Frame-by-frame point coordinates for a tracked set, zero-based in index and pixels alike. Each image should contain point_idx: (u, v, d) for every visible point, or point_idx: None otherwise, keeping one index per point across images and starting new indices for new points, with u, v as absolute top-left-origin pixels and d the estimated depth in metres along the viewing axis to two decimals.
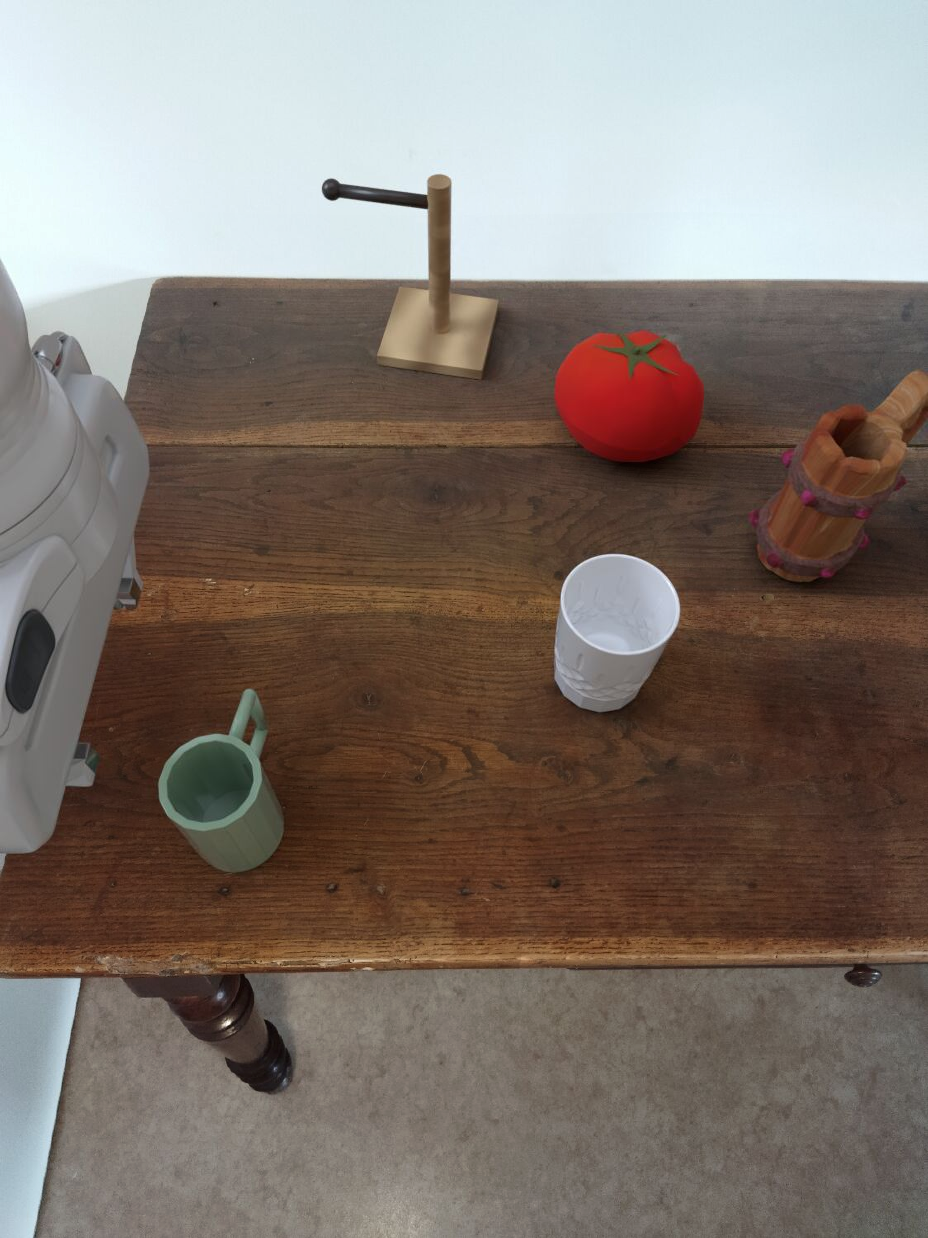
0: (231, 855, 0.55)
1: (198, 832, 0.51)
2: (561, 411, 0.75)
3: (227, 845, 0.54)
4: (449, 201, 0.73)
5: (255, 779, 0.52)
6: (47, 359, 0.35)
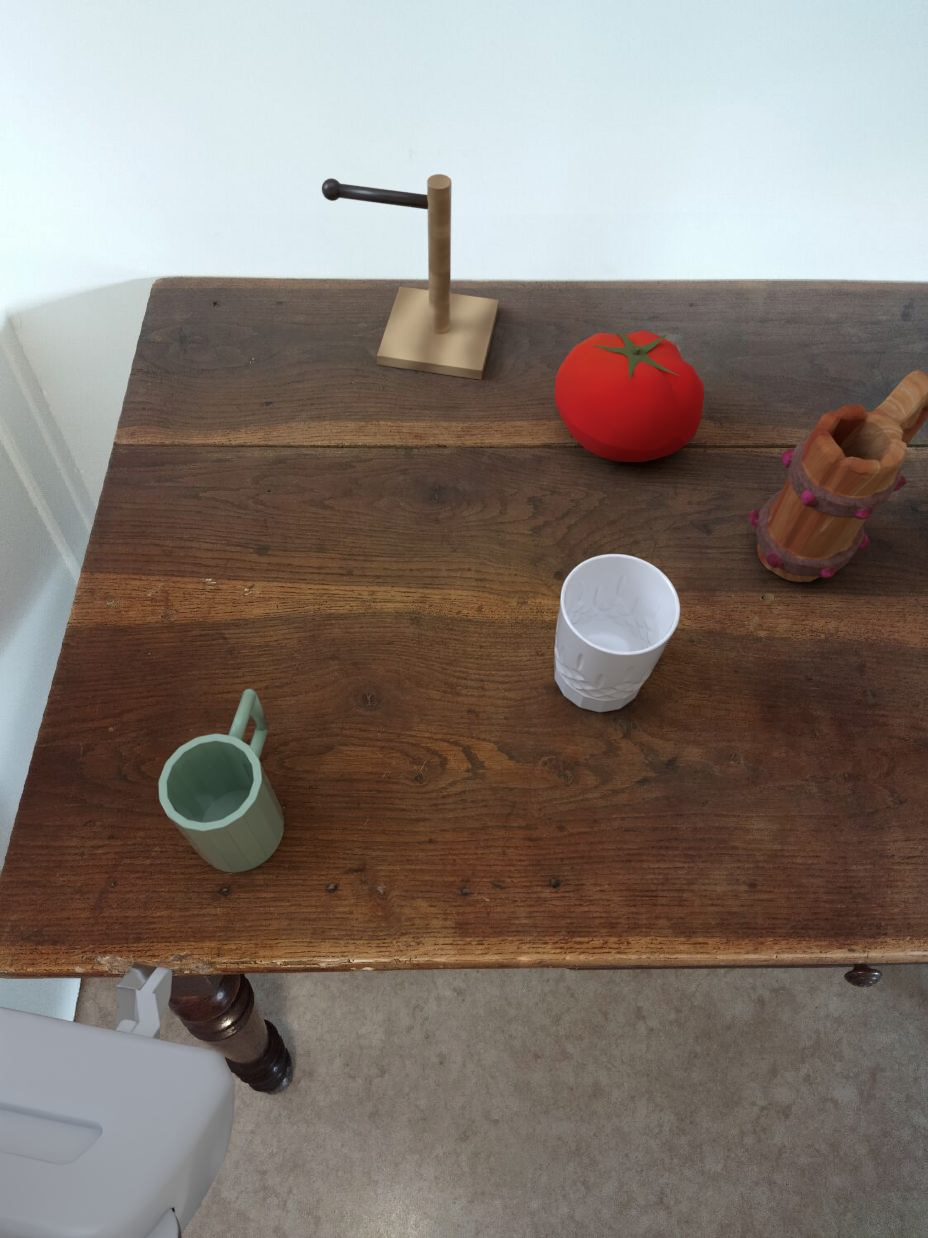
0: (231, 855, 0.55)
1: (198, 832, 0.51)
2: (561, 411, 0.75)
3: (227, 845, 0.54)
4: (449, 201, 0.73)
5: (255, 779, 0.52)
6: None
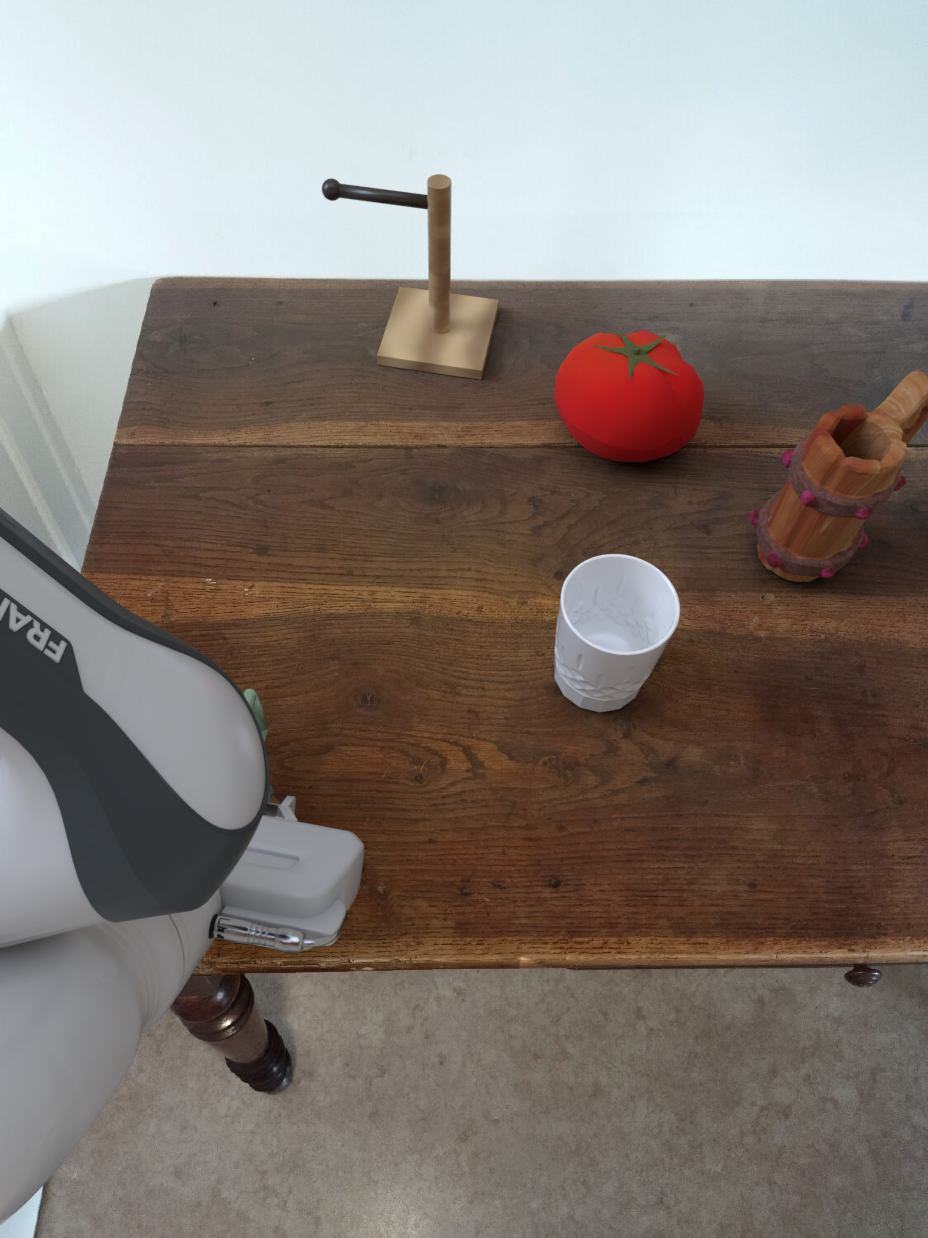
0: None
1: None
2: (561, 411, 0.75)
3: None
4: (449, 201, 0.73)
5: None
6: (274, 947, 0.43)
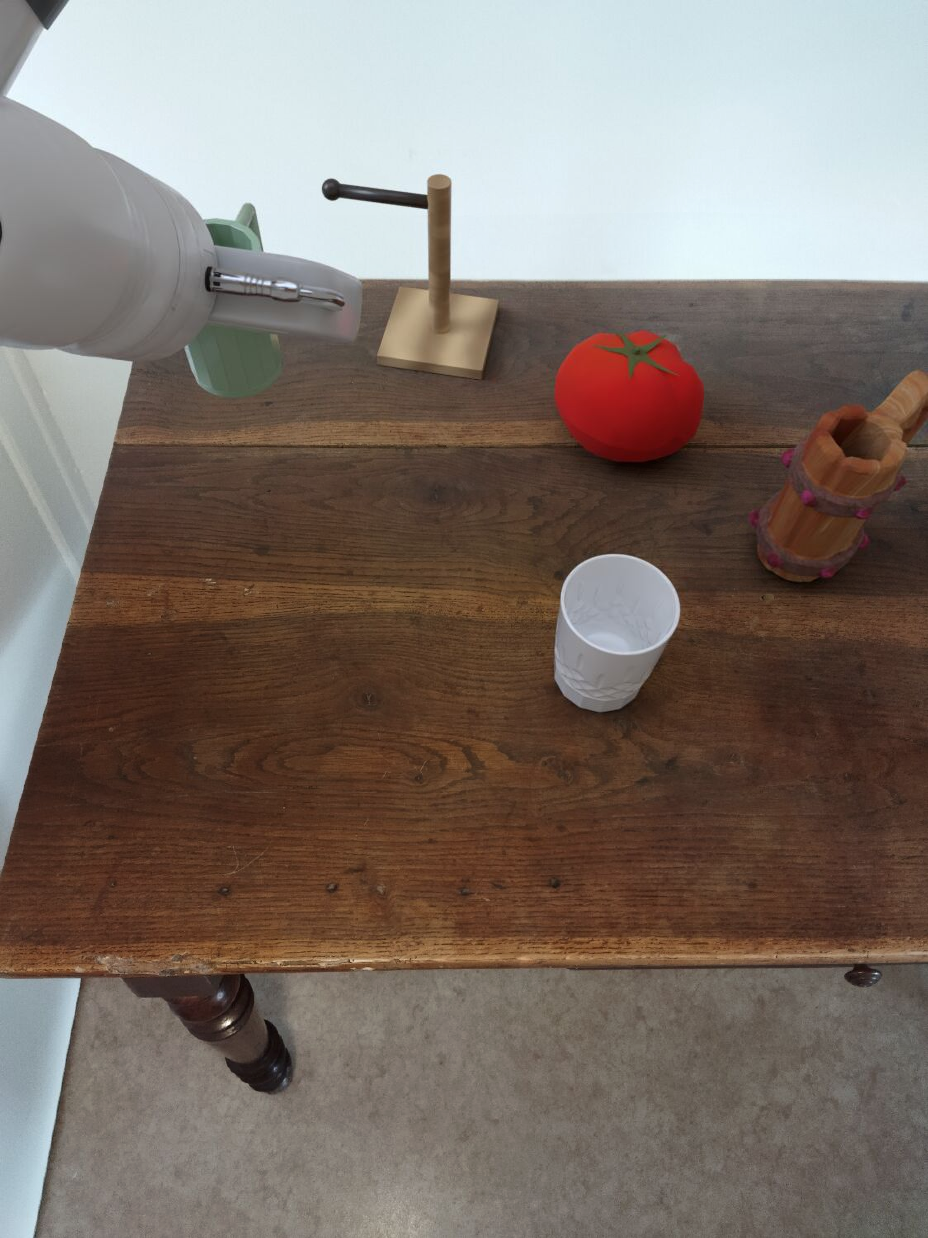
0: (229, 353, 0.55)
1: None
2: (561, 411, 0.75)
3: (225, 327, 0.53)
4: (449, 201, 0.73)
5: (254, 249, 0.52)
6: (270, 294, 0.42)
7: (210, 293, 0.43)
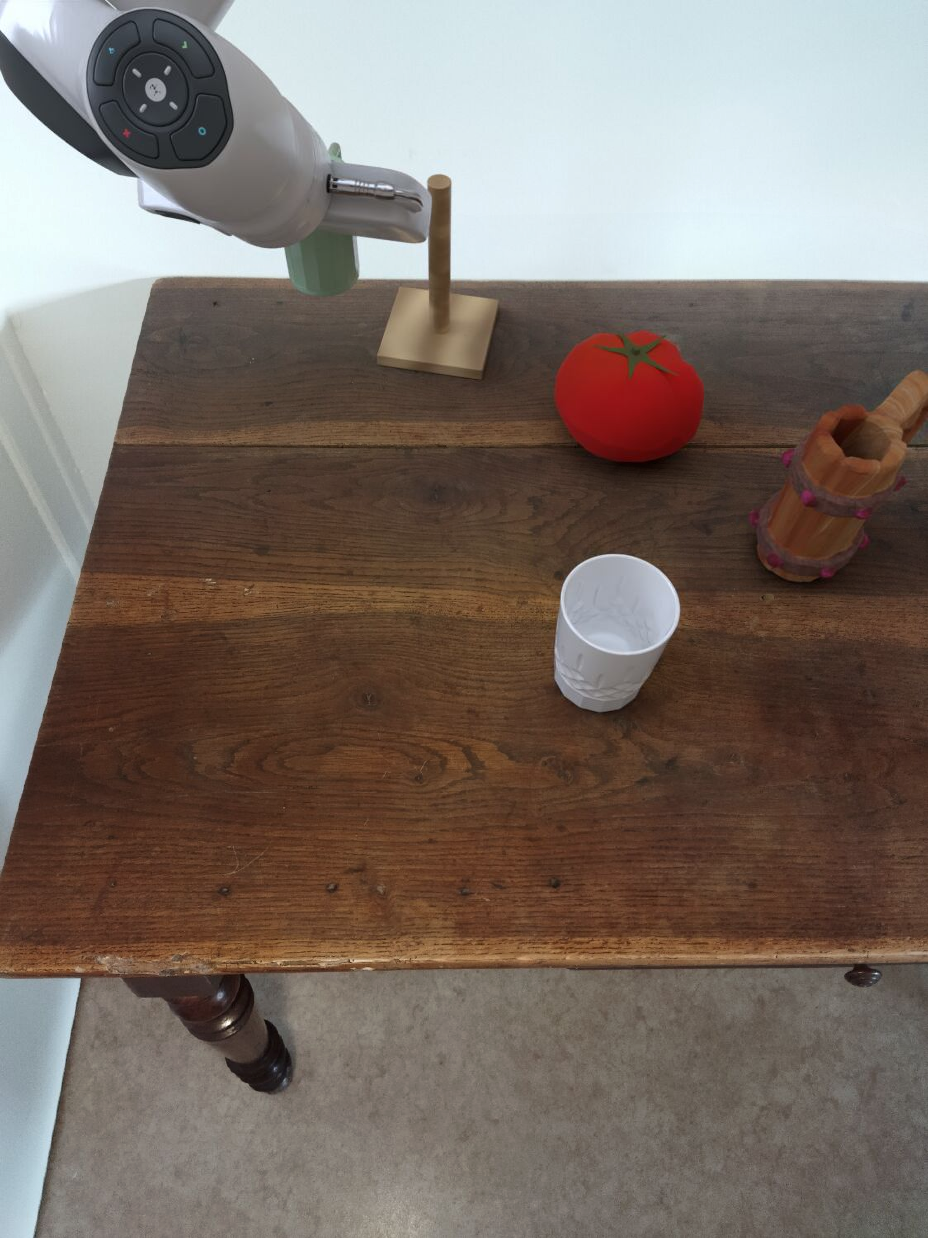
0: (323, 257, 0.71)
1: None
2: (561, 411, 0.75)
3: (322, 235, 0.69)
4: (449, 201, 0.73)
5: None
6: (374, 193, 0.58)
7: (328, 194, 0.59)
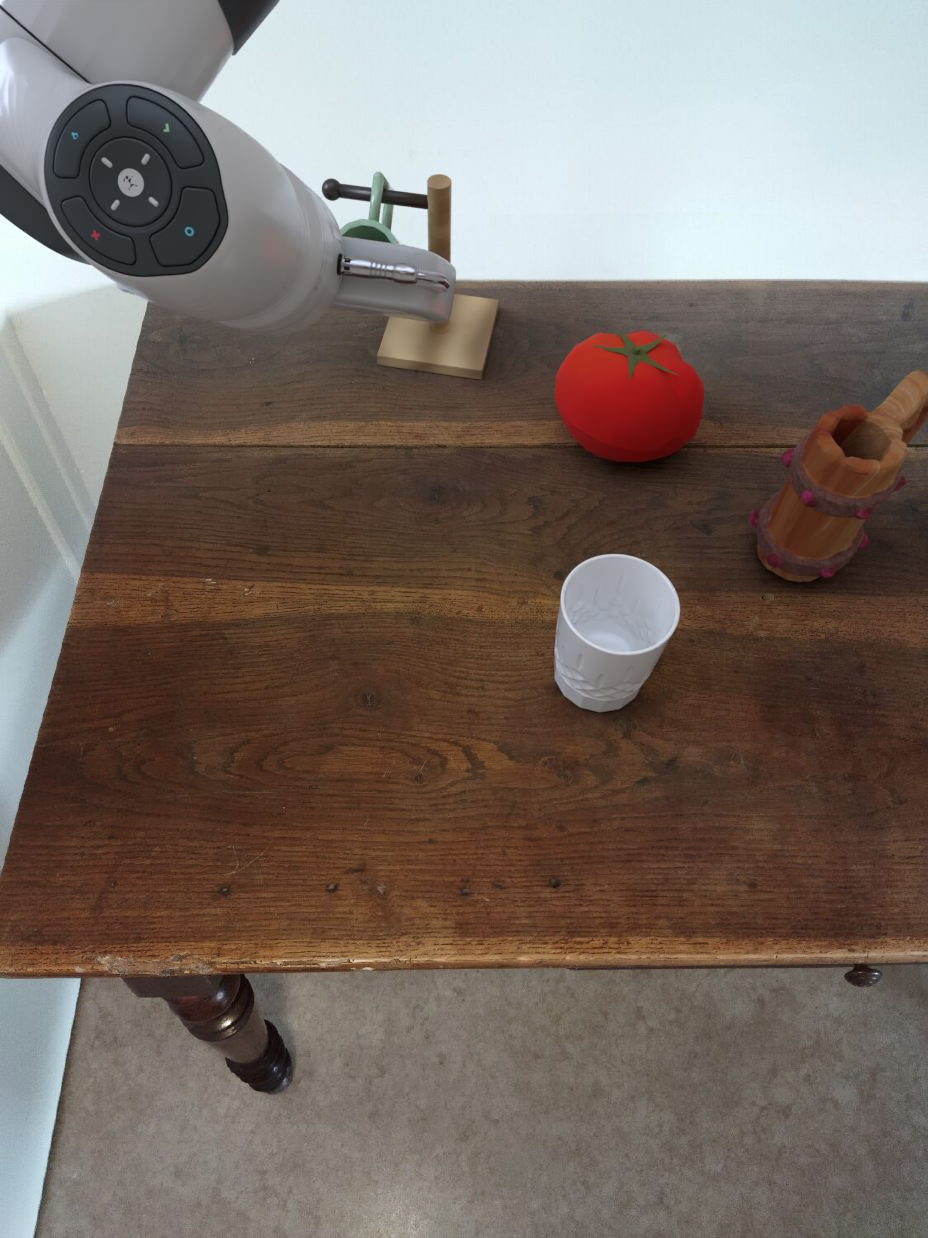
0: None
1: None
2: (561, 411, 0.75)
3: None
4: (449, 201, 0.73)
5: None
6: (392, 277, 0.50)
7: (339, 276, 0.51)
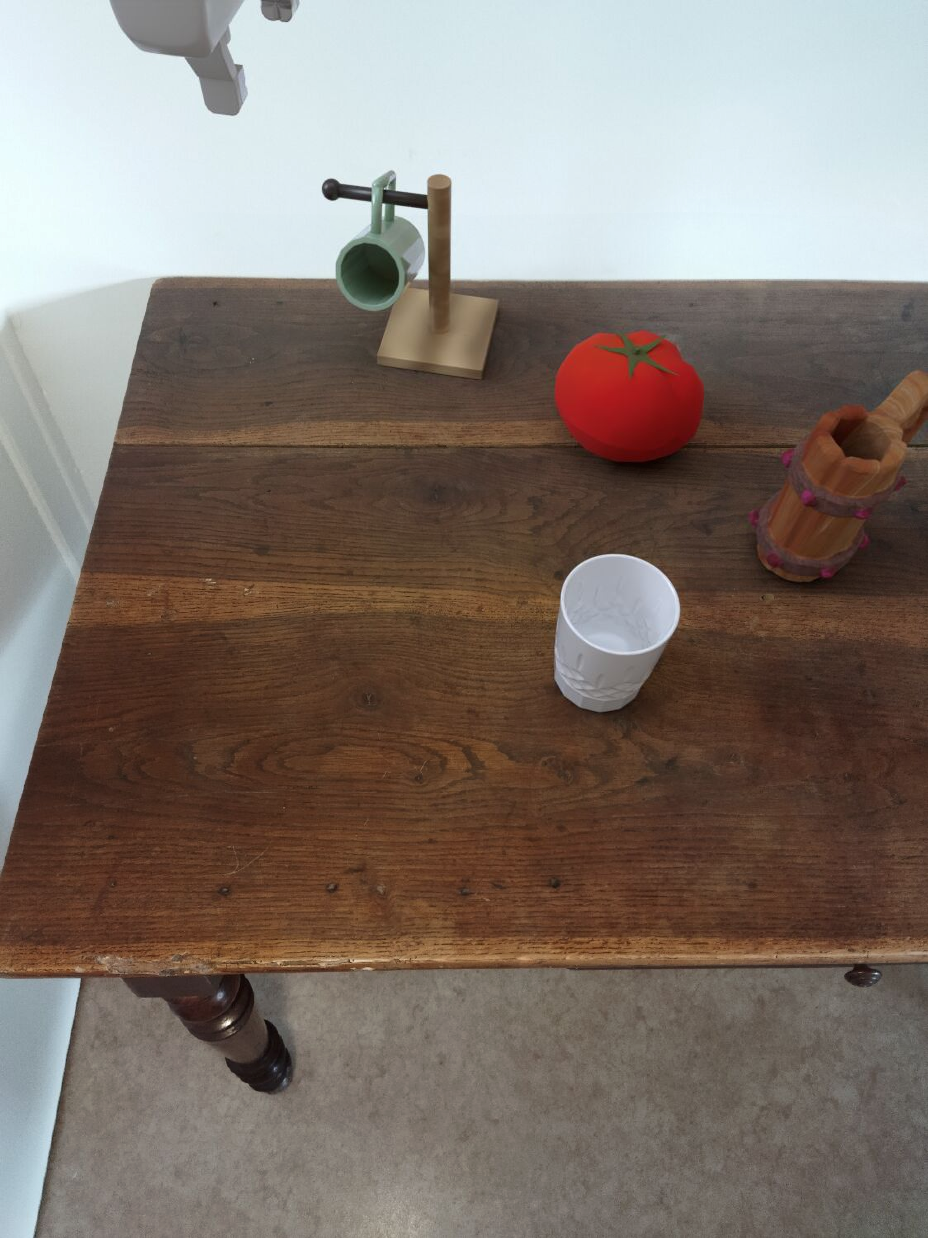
0: None
1: (372, 309, 0.77)
2: (561, 411, 0.75)
3: None
4: (449, 201, 0.73)
5: (400, 272, 0.74)
6: None
7: None
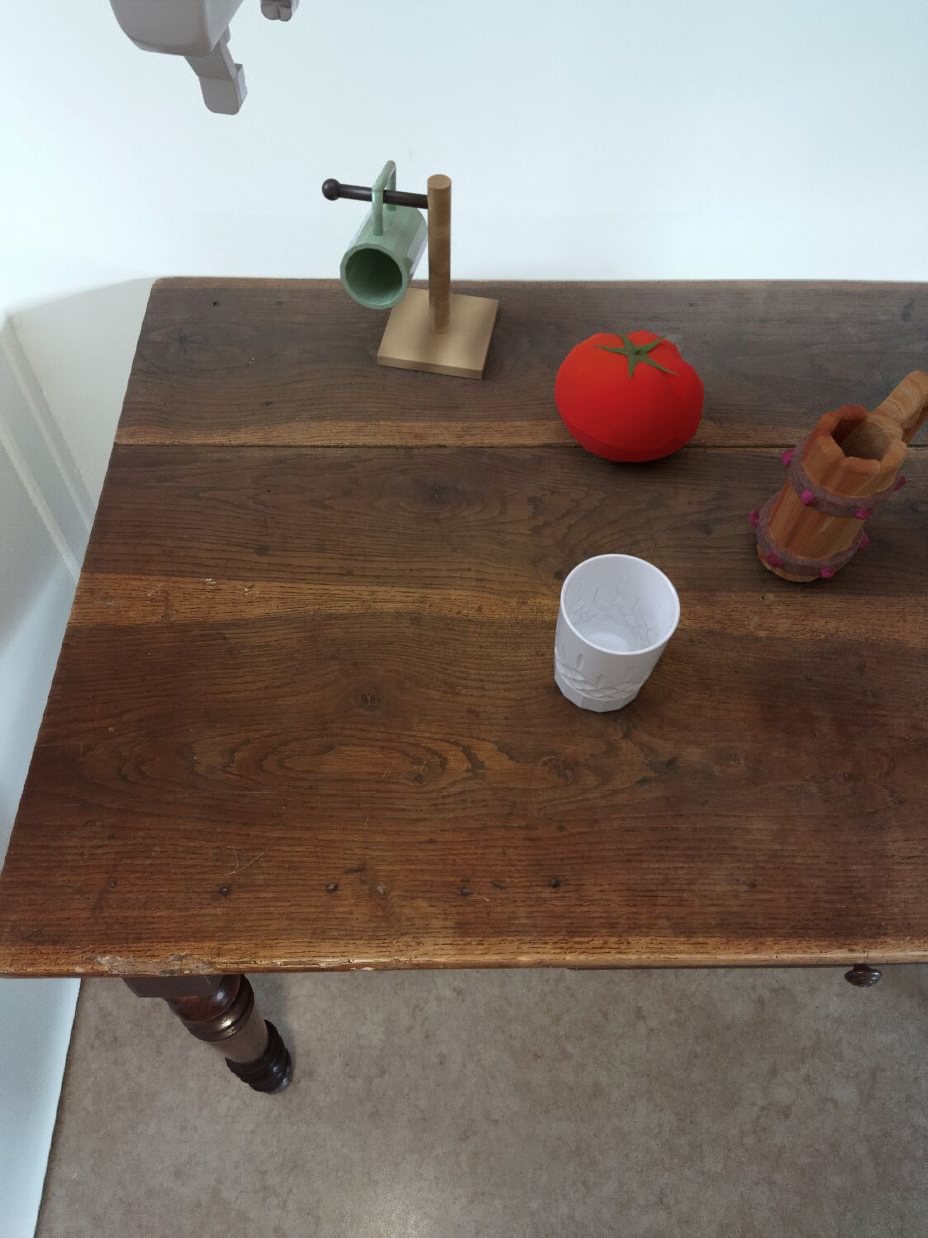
0: None
1: None
2: (561, 411, 0.75)
3: None
4: (449, 201, 0.73)
5: (403, 274, 0.76)
6: None
7: None
